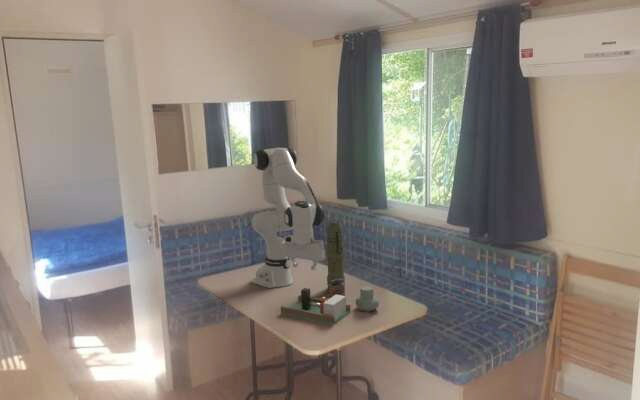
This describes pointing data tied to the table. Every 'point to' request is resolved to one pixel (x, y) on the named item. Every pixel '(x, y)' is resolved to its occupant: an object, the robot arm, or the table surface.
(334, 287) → the lighter
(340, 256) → the thermos
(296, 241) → the robot arm
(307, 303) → the rod
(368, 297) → the air freshener
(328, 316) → the pitch
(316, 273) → the table surface
